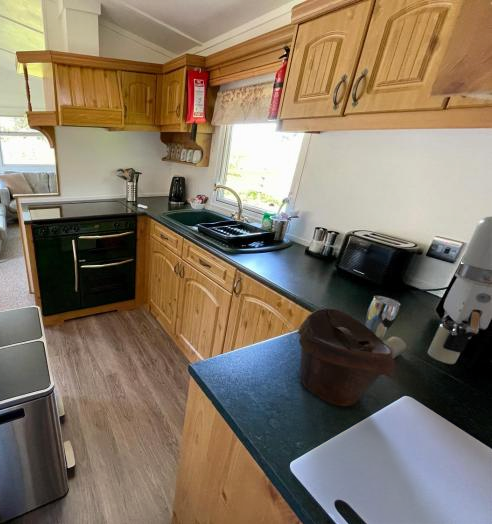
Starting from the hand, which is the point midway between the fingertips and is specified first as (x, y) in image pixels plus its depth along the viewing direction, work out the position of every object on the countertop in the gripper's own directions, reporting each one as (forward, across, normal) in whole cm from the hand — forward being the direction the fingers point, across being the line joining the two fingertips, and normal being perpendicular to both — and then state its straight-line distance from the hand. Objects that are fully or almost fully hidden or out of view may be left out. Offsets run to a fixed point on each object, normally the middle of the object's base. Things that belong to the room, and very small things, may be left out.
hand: (447, 343), depth 69 cm
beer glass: (+14, +18, +10) cm, 25 cm away
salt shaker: (+12, +16, +4) cm, 20 cm away
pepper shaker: (+4, 0, 0) cm, 4 cm away
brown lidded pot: (+14, -14, +22) cm, 29 cm away
